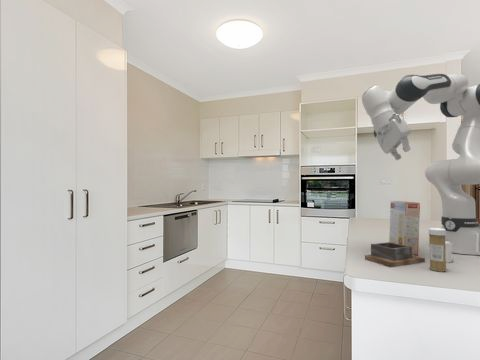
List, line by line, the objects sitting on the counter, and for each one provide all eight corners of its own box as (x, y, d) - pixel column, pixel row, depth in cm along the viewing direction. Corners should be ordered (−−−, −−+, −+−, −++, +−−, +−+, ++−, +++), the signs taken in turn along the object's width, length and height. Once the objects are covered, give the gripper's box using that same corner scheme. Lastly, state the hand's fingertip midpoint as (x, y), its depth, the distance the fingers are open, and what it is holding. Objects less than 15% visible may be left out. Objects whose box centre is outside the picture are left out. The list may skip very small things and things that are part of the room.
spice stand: (397, 255, 109) (397, 241, 109) (424, 262, 99) (424, 246, 99) (364, 259, 103) (364, 244, 103) (390, 267, 93) (390, 250, 93)
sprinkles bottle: (449, 270, 89) (448, 228, 89) (442, 272, 87) (441, 230, 87) (433, 267, 93) (432, 227, 93) (426, 269, 91) (425, 228, 91)
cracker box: (419, 255, 108) (420, 202, 109) (403, 254, 109) (404, 201, 109) (402, 248, 122) (404, 200, 123) (388, 247, 123) (389, 200, 123)
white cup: (448, 259, 103) (448, 240, 103) (456, 264, 97) (456, 244, 97) (427, 257, 105) (427, 239, 106) (433, 262, 99) (433, 242, 99)
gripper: (404, 107, 96) (423, 141, 92) (387, 131, 116) (402, 160, 112) (386, 114, 97) (404, 148, 93) (372, 136, 117) (386, 166, 112)
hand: (403, 155), depth 103 cm, fingers open, 8 cm apart
